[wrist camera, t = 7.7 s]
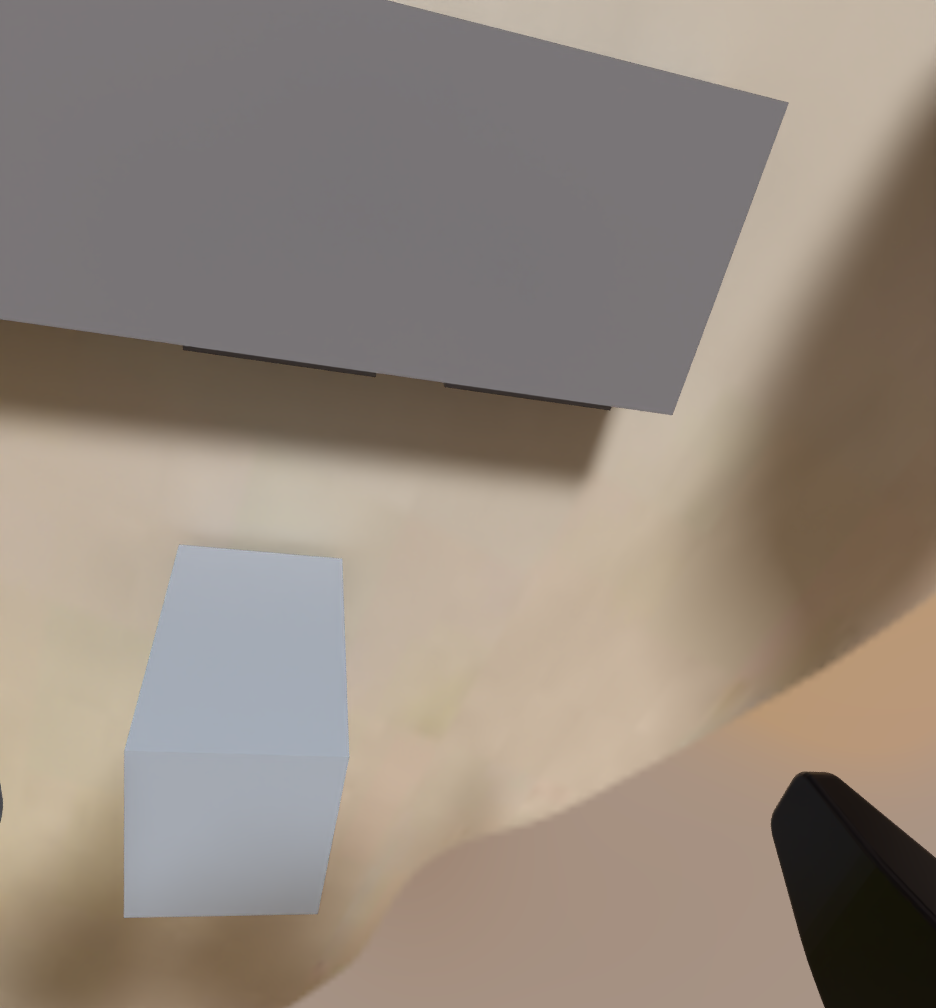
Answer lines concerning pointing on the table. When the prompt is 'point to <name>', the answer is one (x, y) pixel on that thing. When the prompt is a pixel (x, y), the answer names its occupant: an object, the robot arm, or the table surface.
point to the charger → (238, 738)
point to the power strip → (369, 193)
